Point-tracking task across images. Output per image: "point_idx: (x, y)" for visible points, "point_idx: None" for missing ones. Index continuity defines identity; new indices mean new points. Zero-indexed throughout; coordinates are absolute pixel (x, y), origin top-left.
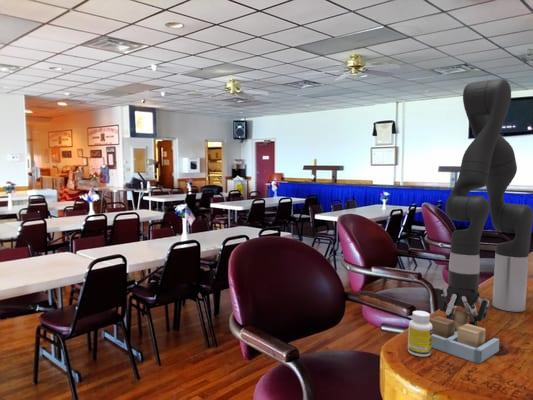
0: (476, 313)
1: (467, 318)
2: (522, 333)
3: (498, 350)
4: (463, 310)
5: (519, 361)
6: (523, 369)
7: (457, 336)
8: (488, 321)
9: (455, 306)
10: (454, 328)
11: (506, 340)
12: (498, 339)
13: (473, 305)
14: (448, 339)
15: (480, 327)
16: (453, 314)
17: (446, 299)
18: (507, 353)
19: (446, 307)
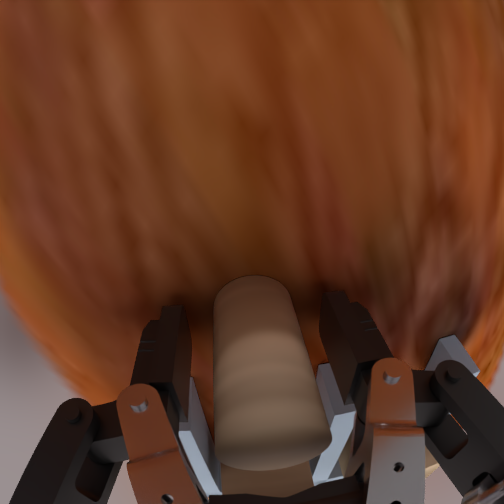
0: (411, 412)
1: (318, 389)
2: (498, 10)
3: (454, 339)
4: (272, 433)
5: (496, 339)
6: (493, 366)
7: (333, 463)
8: None
9: (194, 477)
10: (311, 474)
11: (481, 191)
12: (475, 376)
13: (403, 481)
14: (317, 481)
15: (429, 466)
16: (169, 388)
17: (60, 489)
18: (477, 323)
19: (114, 450)
